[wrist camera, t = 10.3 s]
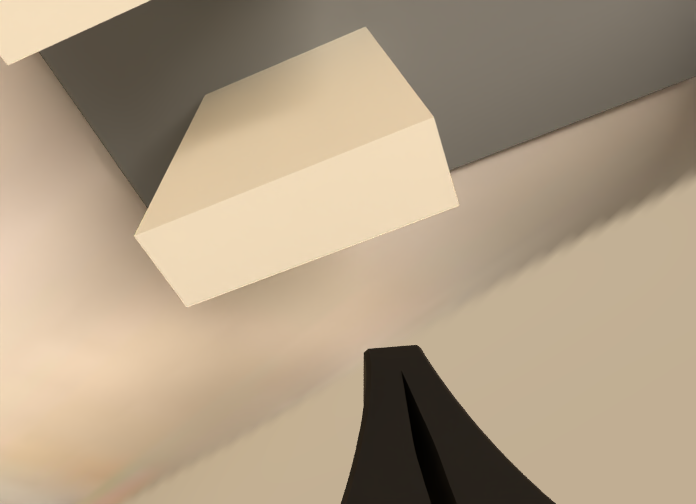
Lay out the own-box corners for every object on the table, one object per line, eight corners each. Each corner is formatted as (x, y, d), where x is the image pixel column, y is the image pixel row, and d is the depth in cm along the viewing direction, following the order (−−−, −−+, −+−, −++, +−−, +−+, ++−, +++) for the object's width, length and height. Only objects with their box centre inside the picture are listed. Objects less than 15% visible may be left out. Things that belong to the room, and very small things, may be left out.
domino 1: (365, 26, 14) (433, 116, 7) (383, 81, 15) (459, 206, 8) (205, 94, 15) (133, 236, 8) (231, 143, 16) (186, 307, 9)
